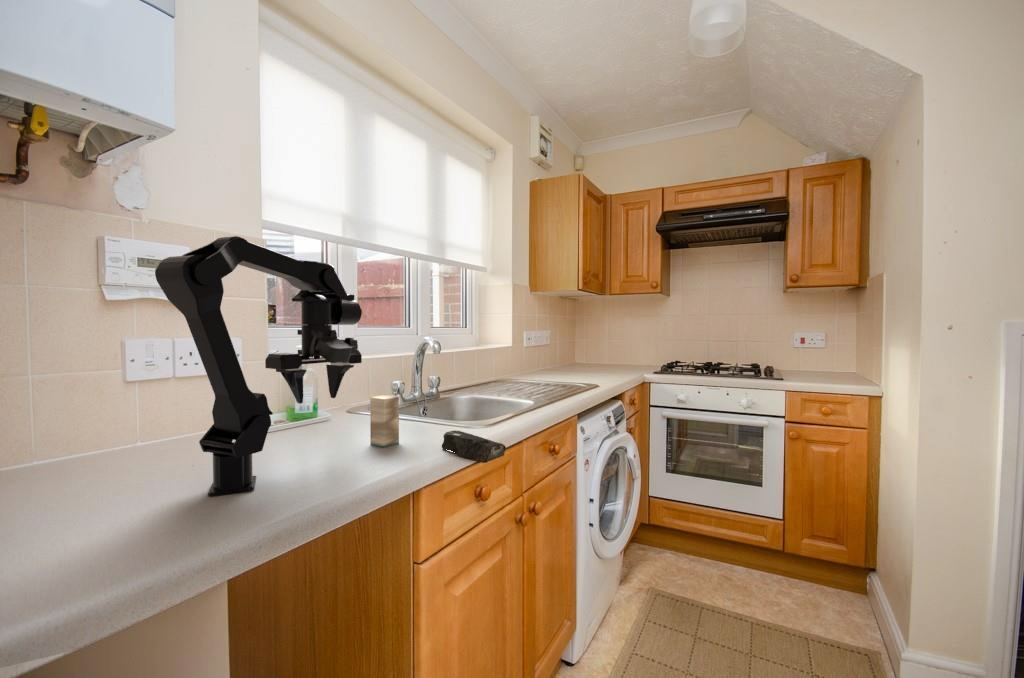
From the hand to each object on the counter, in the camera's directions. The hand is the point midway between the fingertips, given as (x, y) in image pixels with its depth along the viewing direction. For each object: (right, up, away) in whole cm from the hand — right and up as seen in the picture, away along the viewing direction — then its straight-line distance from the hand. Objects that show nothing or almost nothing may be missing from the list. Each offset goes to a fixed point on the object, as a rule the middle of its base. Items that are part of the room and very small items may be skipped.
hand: (317, 400), depth 94 cm
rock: (+32, -13, +5) cm, 34 cm away
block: (+11, -12, +12) cm, 20 cm away
